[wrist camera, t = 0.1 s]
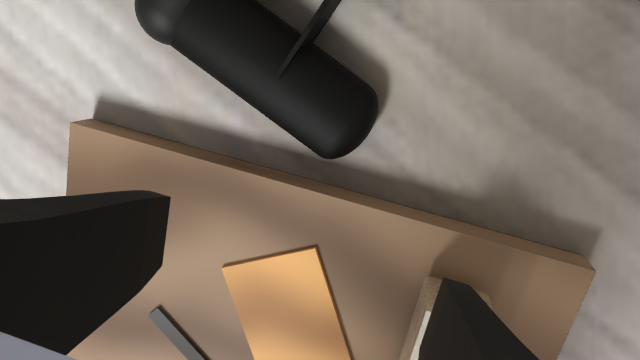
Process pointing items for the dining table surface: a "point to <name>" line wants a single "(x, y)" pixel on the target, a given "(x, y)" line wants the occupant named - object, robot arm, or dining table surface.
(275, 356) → the board
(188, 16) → the door handle
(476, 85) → the dining table surface
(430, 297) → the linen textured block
